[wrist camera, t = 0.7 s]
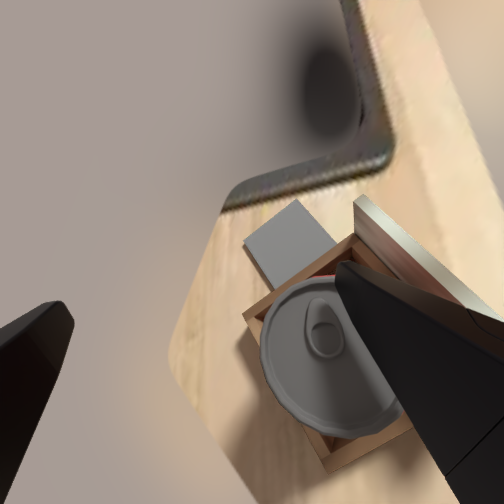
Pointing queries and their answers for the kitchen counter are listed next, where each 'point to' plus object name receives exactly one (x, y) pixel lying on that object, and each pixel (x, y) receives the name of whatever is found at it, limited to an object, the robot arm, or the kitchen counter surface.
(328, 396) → the beer can
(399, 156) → the kitchen counter surface
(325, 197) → the kitchen counter surface
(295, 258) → the plate
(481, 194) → the kitchen counter surface
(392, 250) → the drawer
